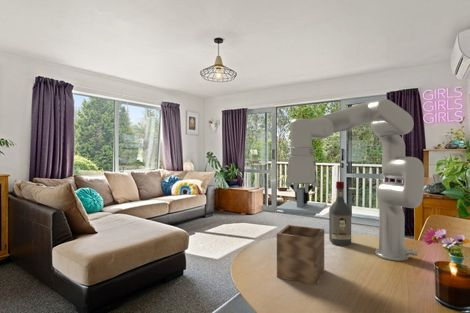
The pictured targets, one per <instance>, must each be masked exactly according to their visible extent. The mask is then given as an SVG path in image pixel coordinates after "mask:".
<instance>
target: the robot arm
mask: <svg viewBox="0 0 470 313" xmlns="http://www.w3.org/2000/svg"><path fill="white" fill-rule="evenodd" d="M414 123H415V122H414V119H413V117H412V116H411V114H410V113H409V112H408V111H406V110H405V109H403V108H402V107H401V106H400V105H397V104H396V103H395V102H393V101H392V100H390V99H387V98H380V99H375V100H370V101H365V102H362V103H358V104H356V105H353V106H349V107H346V108H342V109H339V110H336V111H333V112H331V113H327V114H325V115H321V116H318V117H313V118H311V119H309V118H295V119H294V118H293V119H292V120H291V122H290V126H289V128H290V156H288V161H287V162H288V164H287V170H286V174H287V175H286V181H285V183H284V184H285V186H287V187H289V188H291V190H293V192H294V198H295V200H294V201H296V202H297V189H298V188H300V185H304V187H305V191H304V204H306V203H307V202H309V201H310V191H312V189H314V188H317V187H319V186H320V184H319V181H318V173H317V162H316V158H315V156H314V155H313V154H317V149H314V148H313V146H312V145H313V142H312V140H324V139H327V138H329V137H331V136H332V135H333V133H337V132H345V131H350V130H353V129H356V128H358V127H361V126H365V125H368V124H370V128H371V131H372V132H373V134H374V135H375V136H376V137H377V138H378V139H379V140H380V143H381V146H382V157H381V172H382V175H383V177H385V178H387V179H391V180H392V179H393V180H401V181H403V182H398V181H397V182H395V181H384V182H381V183H380V184H379V185H378V186H377V188H376V197H377V198H376V199H377V202H378V203H377V204H378V211H379V212H378V223H379V224H378V247H379V248H377V249H375V250H374V254H375V255H376V257H379V258H382V259H385V260H387V261H388V260H389V261H395V262H397V261H399V262H401V261H403V262H404V261H407V260H409V258H410V257H409V255H410V256H411V255H412V256H416V257H417V256H418V255H419V253H418V250H414V249H411V248H407V247H406V245H405V221H406V220H405V212H404V209H403V208H409V209H415V208H418V207H419V206H420V205H422V203H423V199H424V186H425V166H424V163H423V162H422V160H420V159H419V158H417V157H413V156H406V144H405V141H404V139H403V138H402V136H403V135H407V134H409V133H410V132H411V131H413V129H414V126H415V125H414ZM401 135H402V136H401ZM312 155H313V156H312ZM402 207H403V208H402Z"/></svg>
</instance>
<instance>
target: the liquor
mask: <svg viewBox="0 0 470 313" xmlns="http://www.w3.org/2000/svg"><path fill="white" fill-rule="evenodd" d="M335 185H336V186H335V189H336V199H335V201H334V202H333V203H332V204H331V205H330V207H329V209H328V214H329V215H328V217H329V218H328V220H329V222H328V223H329V224H328V228H329V229H328V230H329V233H328V236H329V237H328V238H329V242H330V243H331V244H332V245H334V246H347V247H348V246H350V245H351V244H352V210H351V208H350V207H349V206H348V205H347V203H346V202H345V199H344V187H345V183H344V181H336V183H335Z"/></svg>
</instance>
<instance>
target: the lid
mask: <svg viewBox="0 0 470 313" xmlns="http://www.w3.org/2000/svg"><path fill="white" fill-rule="evenodd" d="M304 191H305V186H299V188H298V189H297V201H296V200H287V201H286V202H284V203H282V204H280V205H279V206H277V207H276V208H275V211H282V214H286V215H298V216H310V217H315V216H316V215H319V214H320V213H321V212H323V210H324V209H325V208H326V207H327V206H328V205H327V203H323V202H309V201H308V202H307V203H306V204H304Z"/></svg>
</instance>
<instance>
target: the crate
mask: <svg viewBox="0 0 470 313" xmlns="http://www.w3.org/2000/svg"><path fill="white" fill-rule="evenodd" d="M324 271H325V228H320V227H319V228H318V227H311V226H301V225H295V224H293V225H292V224H287V225H286V226H284V228H282V229H281V230H279V231H278V232H277V233H276V277H277V278H281V279H285V280H291V281H295V282H300V283H306V284H310V285H315V286H318V283H319V281H320V280H321V278H322V275H323V273H324Z"/></svg>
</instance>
